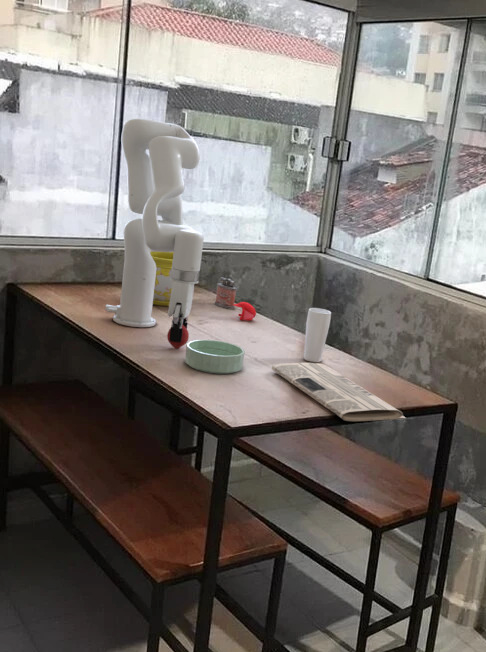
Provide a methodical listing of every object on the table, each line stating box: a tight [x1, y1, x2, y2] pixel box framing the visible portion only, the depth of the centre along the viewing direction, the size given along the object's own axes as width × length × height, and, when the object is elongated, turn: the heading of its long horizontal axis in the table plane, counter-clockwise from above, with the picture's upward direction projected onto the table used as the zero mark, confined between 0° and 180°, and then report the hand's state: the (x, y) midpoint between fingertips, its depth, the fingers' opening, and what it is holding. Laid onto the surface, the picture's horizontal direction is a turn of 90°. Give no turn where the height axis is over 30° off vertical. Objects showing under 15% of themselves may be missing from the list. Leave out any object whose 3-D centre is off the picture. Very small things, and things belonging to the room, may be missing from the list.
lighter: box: [214, 276, 238, 310], centre depth 288 cm, size 8×3×10 cm, turn 58°
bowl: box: [184, 339, 246, 375], centre depth 215 cm, size 15×15×5 cm
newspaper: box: [271, 362, 407, 422], centre depth 208 cm, size 37×19×3 cm, turn 31°
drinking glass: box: [303, 307, 332, 363], centre depth 236 cm, size 7×7×15 cm
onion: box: [166, 325, 190, 350], centre depth 225 cm, size 6×6×8 cm
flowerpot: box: [150, 252, 174, 307], centre depth 278 cm, size 18×18×16 cm
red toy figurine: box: [234, 301, 257, 322], centre depth 273 cm, size 8×6×6 cm
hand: (177, 338), depth 225 cm, fingers open, 6 cm apart
